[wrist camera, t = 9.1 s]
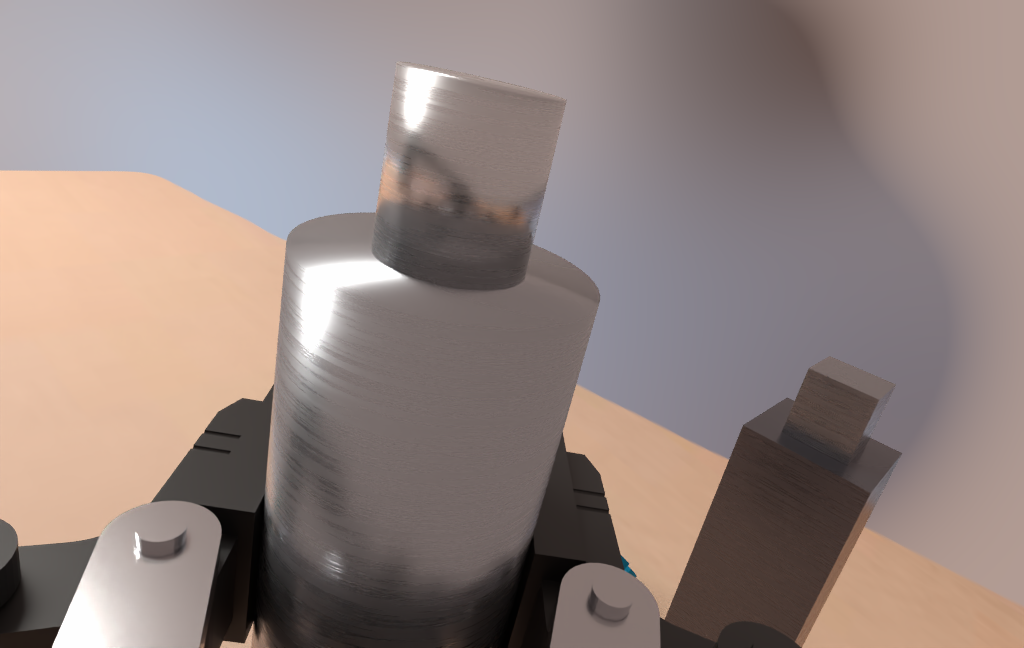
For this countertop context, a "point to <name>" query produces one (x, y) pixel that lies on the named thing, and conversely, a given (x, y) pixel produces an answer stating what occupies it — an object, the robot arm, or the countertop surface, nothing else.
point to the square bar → (789, 507)
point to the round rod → (421, 382)
